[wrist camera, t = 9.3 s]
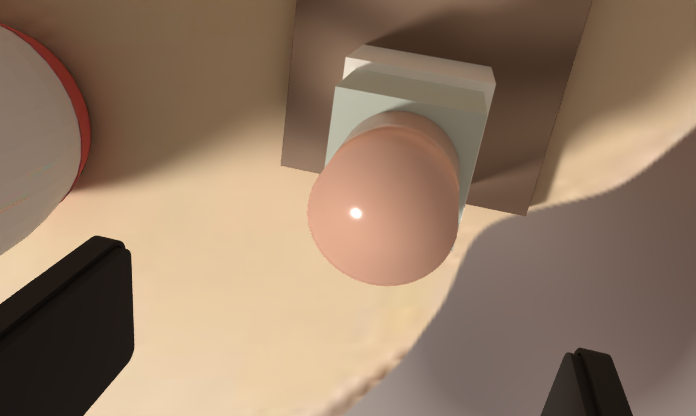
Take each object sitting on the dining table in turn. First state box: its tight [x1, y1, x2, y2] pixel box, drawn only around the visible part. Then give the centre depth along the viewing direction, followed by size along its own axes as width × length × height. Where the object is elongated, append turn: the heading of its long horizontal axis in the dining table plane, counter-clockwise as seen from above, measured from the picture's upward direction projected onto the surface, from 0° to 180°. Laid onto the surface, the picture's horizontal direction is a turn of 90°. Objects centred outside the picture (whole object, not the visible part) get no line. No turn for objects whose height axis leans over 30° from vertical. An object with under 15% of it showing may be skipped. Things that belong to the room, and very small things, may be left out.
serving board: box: [281, 0, 592, 216], centre depth 30 cm, size 18×15×1 cm
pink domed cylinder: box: [307, 111, 460, 286], centre depth 20 cm, size 5×5×5 cm
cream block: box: [343, 45, 496, 222], centre depth 29 cm, size 7×7×5 cm
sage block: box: [324, 69, 487, 251], centre depth 25 cm, size 6×6×4 cm
